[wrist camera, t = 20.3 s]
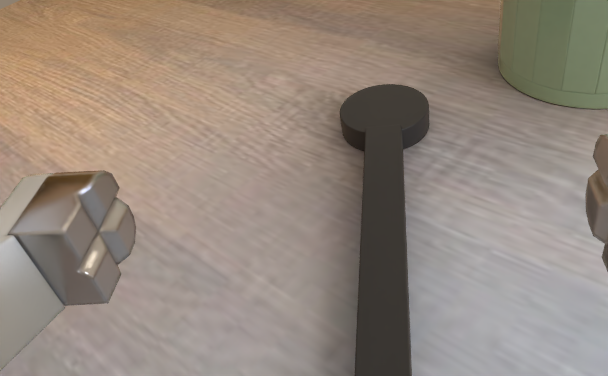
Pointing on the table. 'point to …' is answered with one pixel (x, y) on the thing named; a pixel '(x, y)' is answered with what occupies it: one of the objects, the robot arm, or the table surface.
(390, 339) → the serving spoon
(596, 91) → the crock
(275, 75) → the table surface
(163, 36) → the table surface
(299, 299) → the table surface
